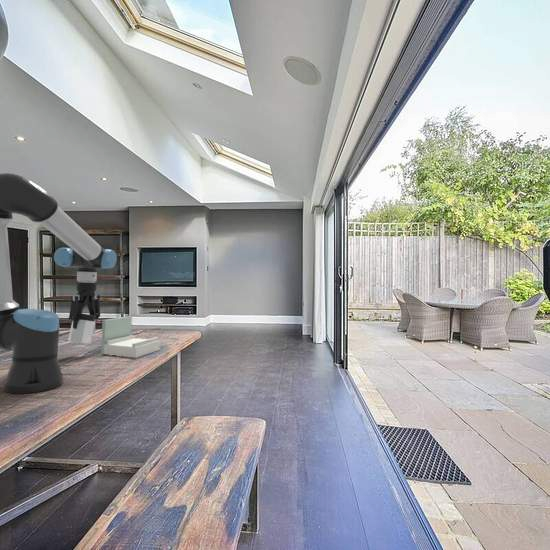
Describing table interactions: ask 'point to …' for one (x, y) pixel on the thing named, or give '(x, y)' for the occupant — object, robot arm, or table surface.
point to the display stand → (125, 339)
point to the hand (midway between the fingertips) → (84, 335)
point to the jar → (82, 329)
